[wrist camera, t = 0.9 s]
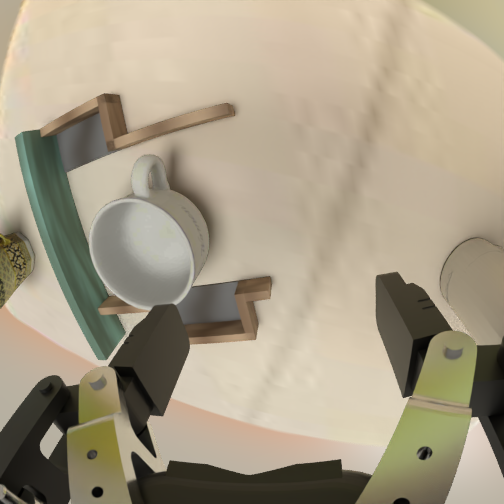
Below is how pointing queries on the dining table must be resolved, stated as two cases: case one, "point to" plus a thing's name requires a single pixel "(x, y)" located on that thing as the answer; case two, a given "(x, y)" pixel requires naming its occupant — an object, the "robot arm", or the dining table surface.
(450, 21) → the dining table surface
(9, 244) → the ceramic cup
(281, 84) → the dining table surface
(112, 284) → the teacup
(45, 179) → the teal wooden tray
